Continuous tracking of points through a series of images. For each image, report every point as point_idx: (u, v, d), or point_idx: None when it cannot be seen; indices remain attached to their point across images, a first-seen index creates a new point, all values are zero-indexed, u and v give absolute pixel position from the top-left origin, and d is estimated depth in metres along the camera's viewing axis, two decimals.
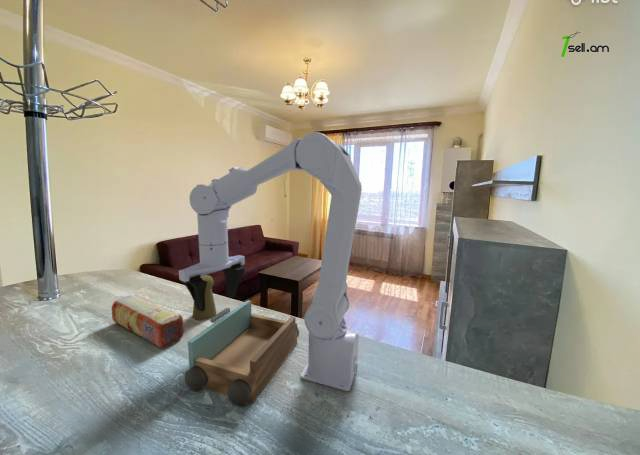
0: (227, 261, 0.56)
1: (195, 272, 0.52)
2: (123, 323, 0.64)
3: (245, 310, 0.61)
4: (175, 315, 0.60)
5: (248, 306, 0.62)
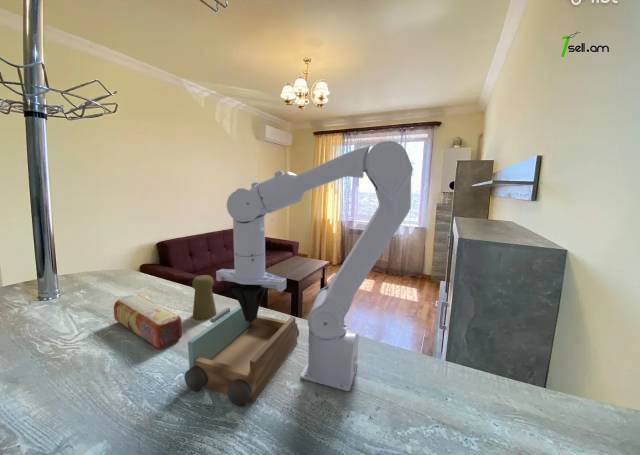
0: (249, 277, 0.48)
1: (223, 275, 0.52)
2: (124, 322, 0.64)
3: None
4: (173, 315, 0.60)
5: None
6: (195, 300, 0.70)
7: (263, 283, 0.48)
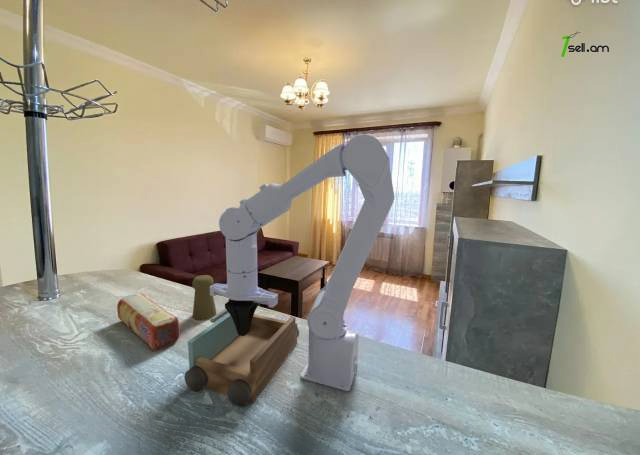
0: (241, 294, 0.49)
1: (216, 290, 0.53)
2: (125, 321, 0.64)
3: None
4: (171, 317, 0.59)
5: None
6: (195, 300, 0.70)
7: (255, 299, 0.49)
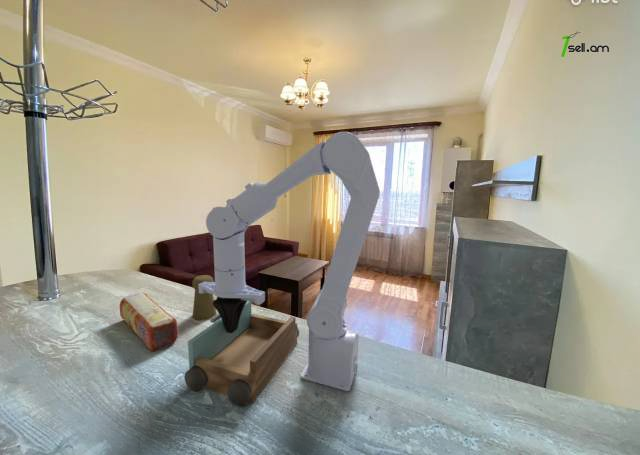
0: (228, 291, 0.50)
1: (204, 288, 0.54)
2: (126, 321, 0.65)
3: (245, 310, 0.61)
4: (169, 318, 0.59)
5: (248, 306, 0.62)
6: (195, 300, 0.70)
7: (242, 297, 0.50)
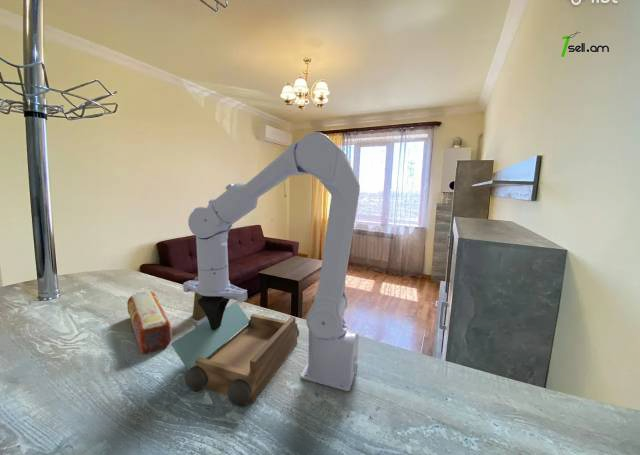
0: (211, 290, 0.52)
1: (189, 287, 0.55)
2: None
3: (233, 309, 0.62)
4: (162, 320, 0.58)
5: (234, 305, 0.63)
6: (195, 300, 0.70)
7: (224, 295, 0.51)
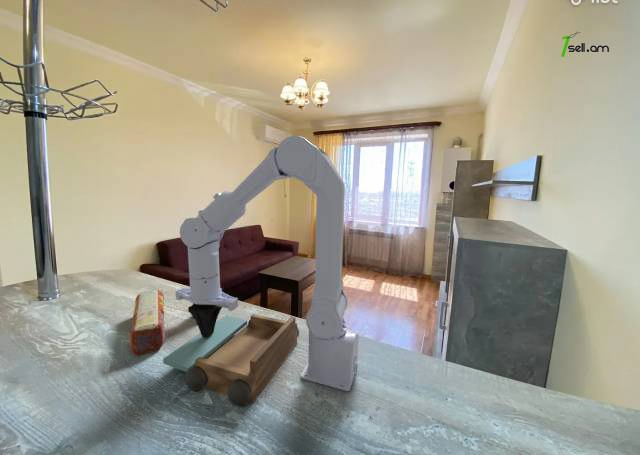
0: (202, 298, 0.53)
1: (181, 295, 0.56)
2: None
3: (224, 320, 0.63)
4: (155, 323, 0.57)
5: (225, 318, 0.65)
6: None
7: (215, 303, 0.53)
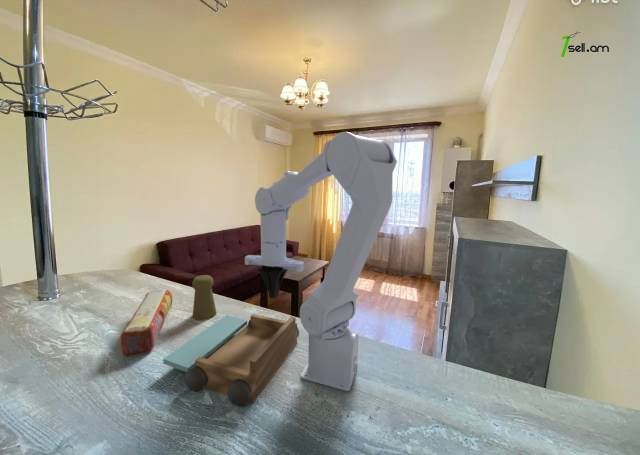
0: (273, 261, 0.59)
1: (251, 260, 0.62)
2: None
3: (224, 320, 0.63)
4: (145, 325, 0.56)
5: (225, 318, 0.65)
6: (195, 300, 0.70)
7: (285, 265, 0.59)
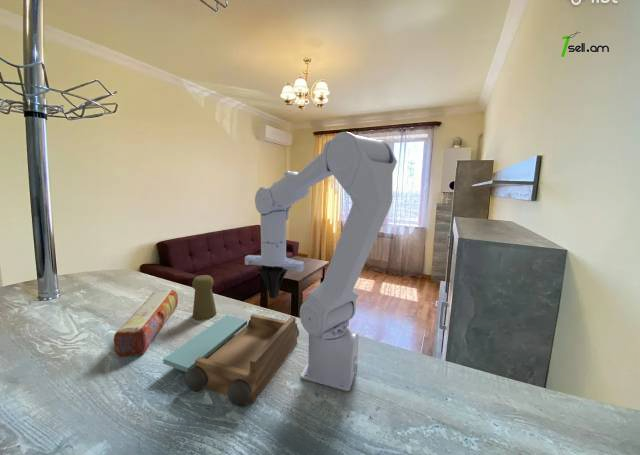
0: (273, 261, 0.59)
1: (251, 260, 0.62)
2: None
3: (224, 320, 0.63)
4: (138, 326, 0.55)
5: (225, 318, 0.65)
6: (195, 300, 0.70)
7: (285, 265, 0.59)
